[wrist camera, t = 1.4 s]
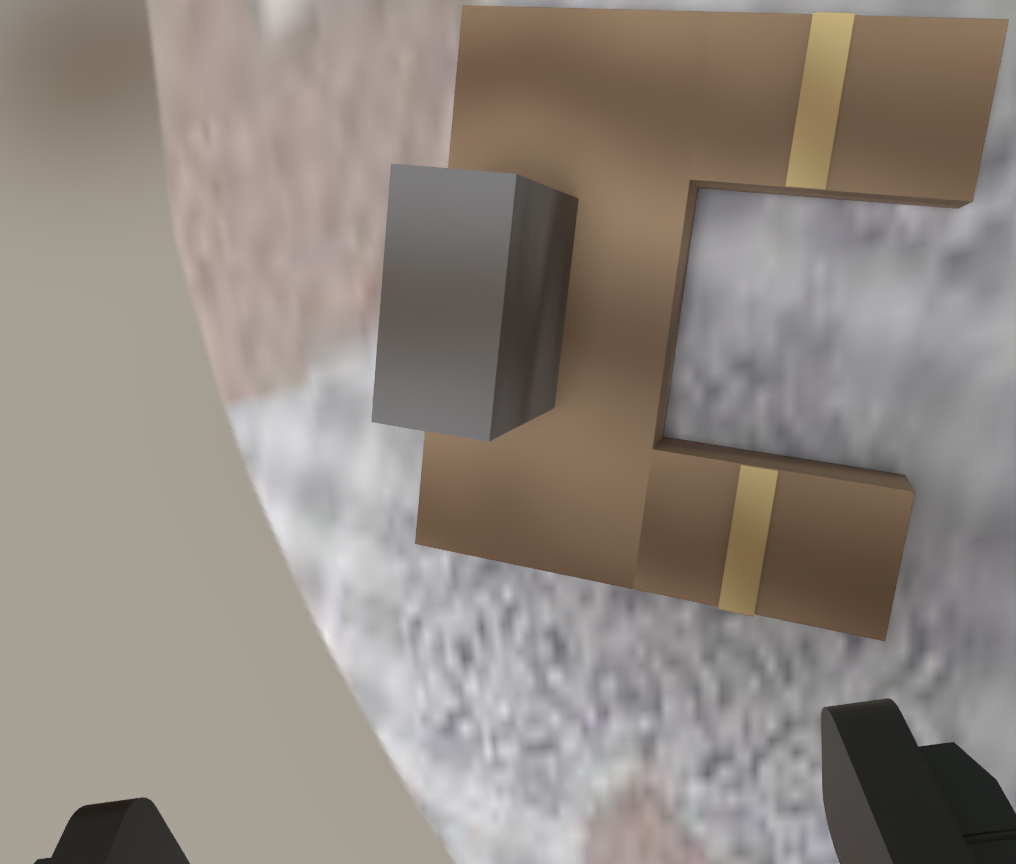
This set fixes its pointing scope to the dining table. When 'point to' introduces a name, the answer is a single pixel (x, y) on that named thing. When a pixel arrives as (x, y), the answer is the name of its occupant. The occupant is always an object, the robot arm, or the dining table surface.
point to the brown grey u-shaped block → (650, 288)
